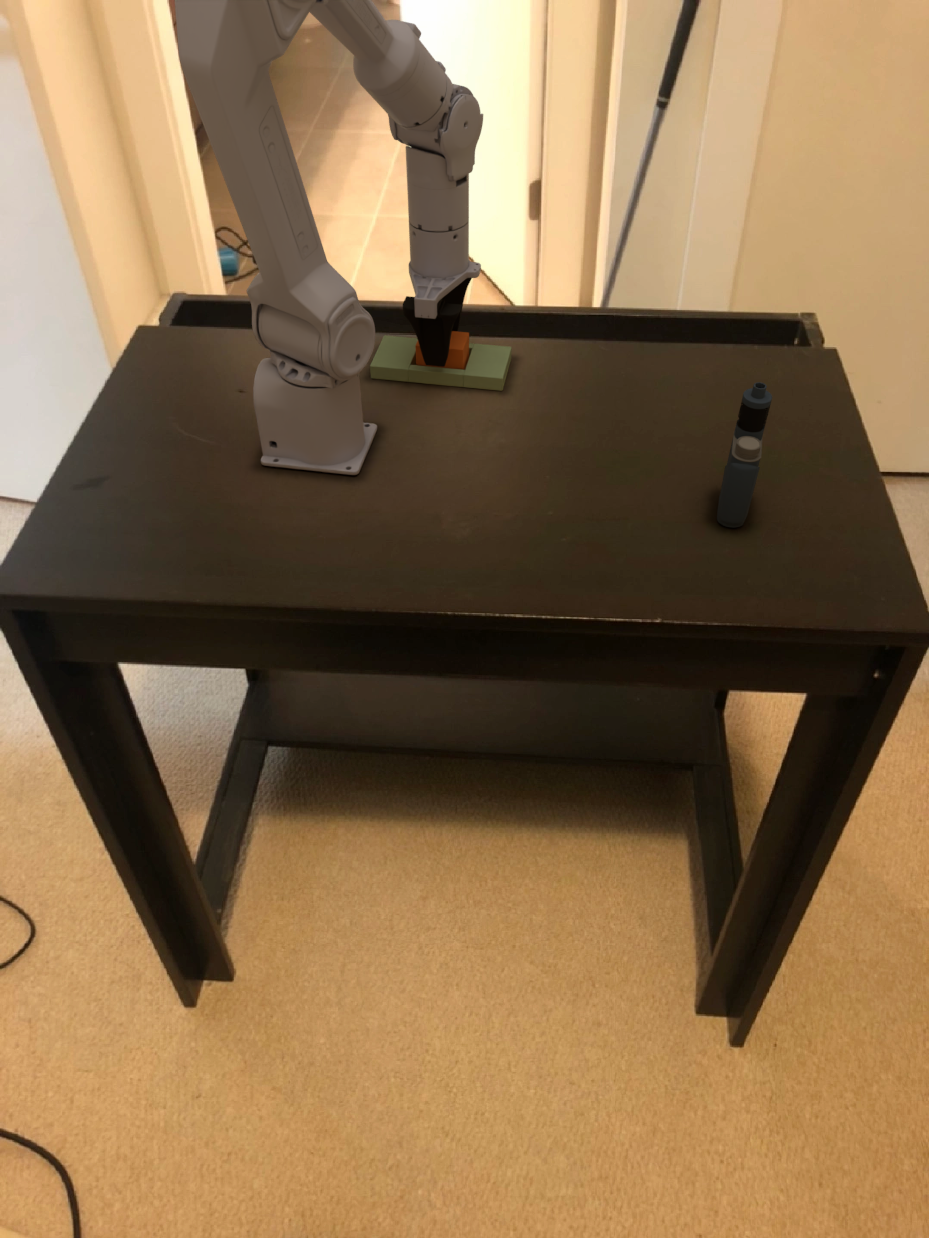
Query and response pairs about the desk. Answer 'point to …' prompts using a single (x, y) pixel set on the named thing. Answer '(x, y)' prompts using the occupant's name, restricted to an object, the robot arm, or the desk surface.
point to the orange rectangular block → (451, 352)
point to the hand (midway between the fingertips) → (441, 348)
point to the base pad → (480, 372)
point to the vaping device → (744, 457)
